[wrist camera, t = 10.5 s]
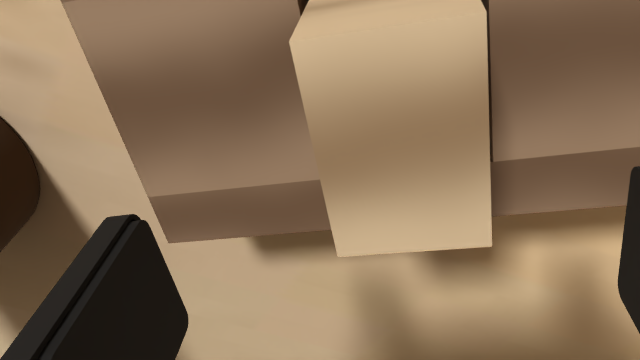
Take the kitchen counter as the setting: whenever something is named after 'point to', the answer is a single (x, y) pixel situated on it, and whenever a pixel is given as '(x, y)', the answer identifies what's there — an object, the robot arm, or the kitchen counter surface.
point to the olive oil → (15, 185)
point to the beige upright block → (398, 121)
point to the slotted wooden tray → (291, 124)
